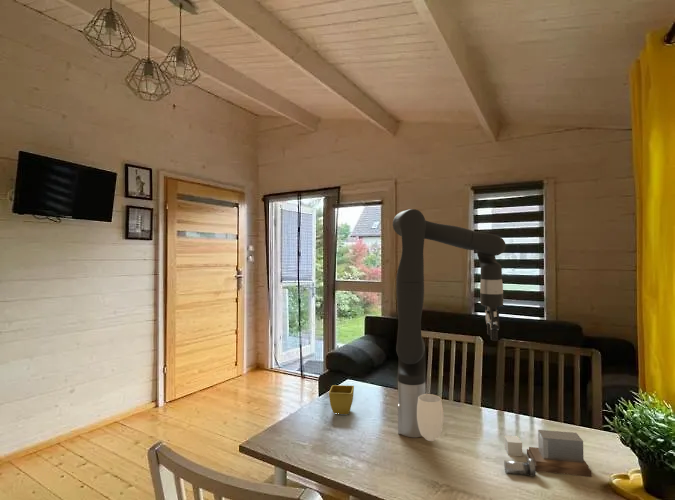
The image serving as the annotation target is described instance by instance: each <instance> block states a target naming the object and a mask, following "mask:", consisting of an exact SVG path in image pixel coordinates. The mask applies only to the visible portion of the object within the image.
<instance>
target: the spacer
mask: <svg viewBox="0 0 675 500" xmlns="http://www.w3.org/2000/svg"><path fill="white" fill-rule="evenodd" d="M503 437H504V439H503V440H504V450H505V452H506V454H507V456H514V457H515V456H516V457H517V456H518V457H519V456H520V457H523V442H522V441H521V439H520V437H519V436H516V435H515V436H514V435H513V436H512V435H504V436H503Z"/></svg>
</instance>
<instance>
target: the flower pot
mask: <svg viewBox="0 0 675 500" xmlns="http://www.w3.org/2000/svg"><path fill="white" fill-rule="evenodd" d="M354 391H355V387H354V385H345V384H344V385H340V384H339V385H335V384H333V385H331V386H330V389H329V391H328V397H329V403H330V408H331V410H332V412H333V413H337V414H336V415H339V414H348V415H349V413H350V412H351V409H352V405H353V400H354ZM338 413H339V414H338Z"/></svg>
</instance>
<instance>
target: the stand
mask: <svg viewBox="0 0 675 500" xmlns="http://www.w3.org/2000/svg"><path fill="white" fill-rule="evenodd" d="M526 455H527V458H533V460H534V463H535V469H536V472H541V473H551V474H559V475H570V476H579V477H580V476H581V477H590V478H591V477H593V475H592V474H593V473H592V472H593V471H592V470H591V468H590V466H589V465H588V464H587V461H585V460H584V463H577V462H567V461H556V460H546V459H543V457H542V455H541V453H540V452H539V448H538V447H532V446H529V447H528V449H526Z"/></svg>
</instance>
